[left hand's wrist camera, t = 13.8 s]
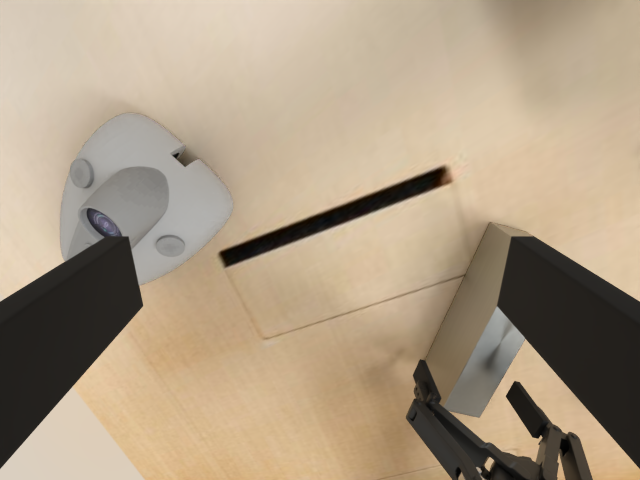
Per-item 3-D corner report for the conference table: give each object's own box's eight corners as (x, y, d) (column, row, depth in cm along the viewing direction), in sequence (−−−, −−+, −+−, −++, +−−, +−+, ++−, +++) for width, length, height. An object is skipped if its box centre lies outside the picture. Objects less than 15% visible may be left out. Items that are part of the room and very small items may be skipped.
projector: (35, 117, 41) (-105, 123, 28) (228, 108, 41) (183, 109, 27) (88, 283, 49) (-1, 352, 36) (250, 277, 49) (223, 344, 35)
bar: (490, 221, 46) (527, 247, 38) (526, 231, 47) (572, 259, 38) (423, 362, 55) (442, 409, 46) (455, 370, 55) (479, 418, 47)
